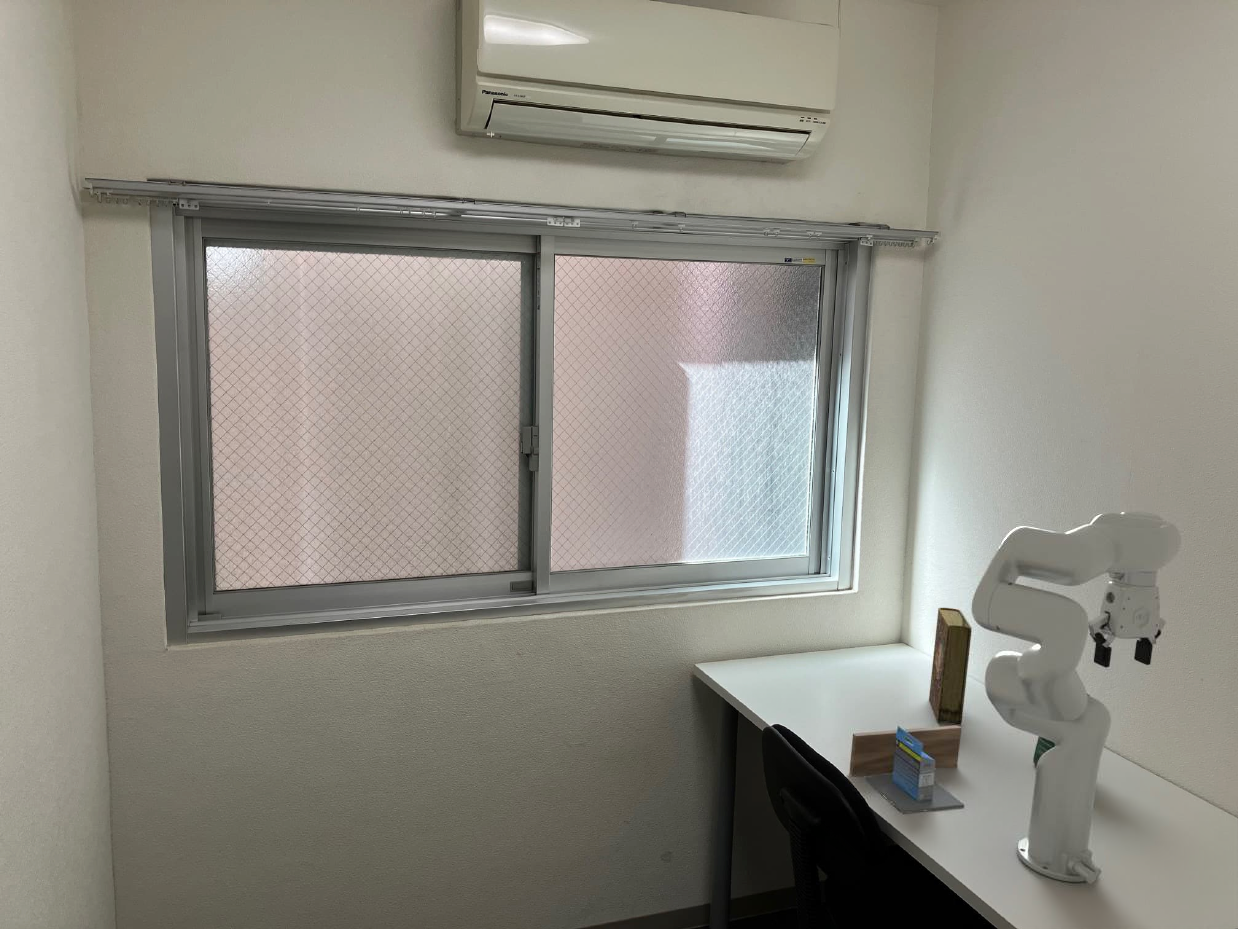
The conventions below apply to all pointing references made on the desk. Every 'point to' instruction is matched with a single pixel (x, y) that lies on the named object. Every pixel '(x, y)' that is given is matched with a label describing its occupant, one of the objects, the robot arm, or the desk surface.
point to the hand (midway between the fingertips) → (1121, 663)
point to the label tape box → (913, 767)
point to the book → (950, 665)
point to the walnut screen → (879, 749)
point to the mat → (906, 801)
